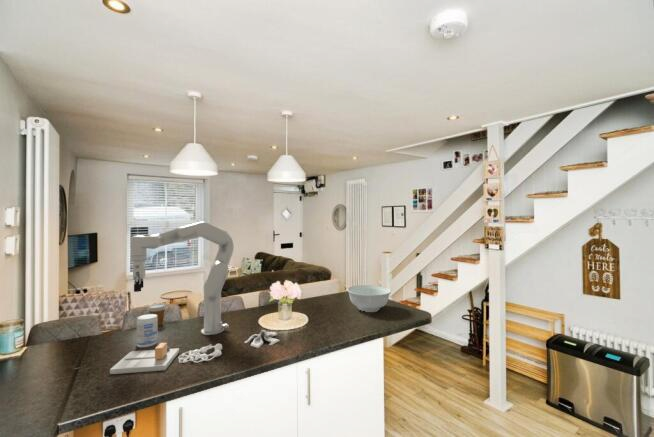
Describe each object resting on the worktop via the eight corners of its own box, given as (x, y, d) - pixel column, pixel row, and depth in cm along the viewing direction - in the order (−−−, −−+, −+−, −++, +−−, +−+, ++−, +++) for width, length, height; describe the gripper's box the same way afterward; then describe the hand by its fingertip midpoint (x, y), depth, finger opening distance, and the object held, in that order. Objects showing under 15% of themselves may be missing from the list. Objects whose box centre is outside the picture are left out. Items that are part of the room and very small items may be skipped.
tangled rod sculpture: (175, 370, 133) (174, 361, 133) (180, 354, 147) (180, 346, 147) (221, 363, 139) (220, 354, 138) (222, 348, 152) (222, 340, 152)
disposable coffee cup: (166, 325, 187) (166, 306, 187) (148, 328, 181) (148, 309, 181) (164, 321, 195) (164, 303, 195) (147, 324, 189) (147, 305, 189)
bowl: (399, 308, 221) (399, 288, 221) (374, 319, 197) (374, 297, 198) (364, 300, 243) (364, 282, 243) (337, 309, 220) (337, 289, 220)
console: (179, 352, 149) (179, 345, 149) (165, 370, 131) (165, 362, 131) (130, 355, 145) (130, 348, 145) (109, 374, 127) (109, 365, 127)
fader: (167, 353, 142) (167, 342, 142) (162, 358, 136) (162, 347, 136) (160, 353, 142) (160, 342, 142) (154, 359, 136) (155, 348, 136)
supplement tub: (146, 349, 152) (146, 320, 152) (131, 347, 155) (132, 318, 155) (161, 341, 162) (161, 314, 162) (148, 339, 164) (148, 313, 165)
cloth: (274, 332, 177) (274, 321, 177) (286, 343, 161) (286, 331, 161) (236, 339, 166) (236, 328, 166) (244, 352, 150) (244, 339, 150)
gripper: (144, 259, 157) (145, 292, 157) (148, 256, 173) (148, 285, 173) (127, 260, 154) (128, 293, 154) (132, 257, 170) (133, 287, 170)
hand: (138, 289), depth 163 cm, fingers open, 9 cm apart
